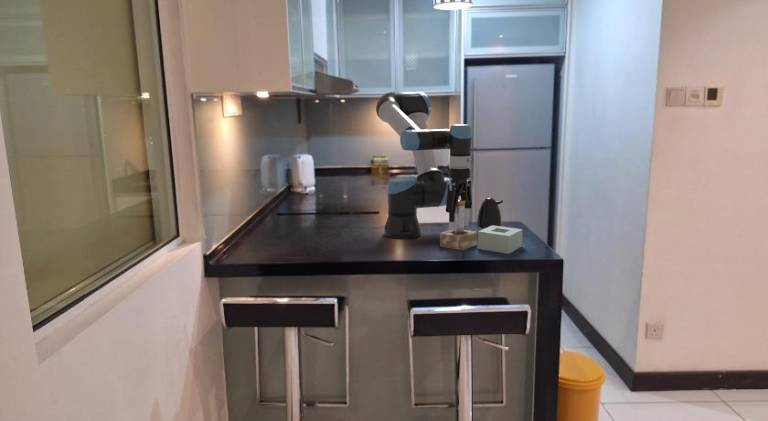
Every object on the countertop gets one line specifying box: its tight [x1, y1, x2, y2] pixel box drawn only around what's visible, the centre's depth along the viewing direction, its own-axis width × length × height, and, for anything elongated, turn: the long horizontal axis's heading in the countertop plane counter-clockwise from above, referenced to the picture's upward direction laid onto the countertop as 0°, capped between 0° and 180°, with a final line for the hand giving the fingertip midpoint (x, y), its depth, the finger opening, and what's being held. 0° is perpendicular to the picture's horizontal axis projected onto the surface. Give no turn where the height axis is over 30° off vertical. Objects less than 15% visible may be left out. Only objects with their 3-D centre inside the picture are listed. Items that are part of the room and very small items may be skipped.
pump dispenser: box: [475, 197, 504, 232], centre depth 209 cm, size 10×10×15 cm
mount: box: [439, 229, 478, 251], centre depth 194 cm, size 10×10×5 cm
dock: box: [477, 225, 524, 255], centre depth 190 cm, size 12×12×6 cm
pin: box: [453, 198, 465, 235], centre depth 192 cm, size 4×4×17 cm
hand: (458, 227), depth 193 cm, fingers open, 9 cm apart
